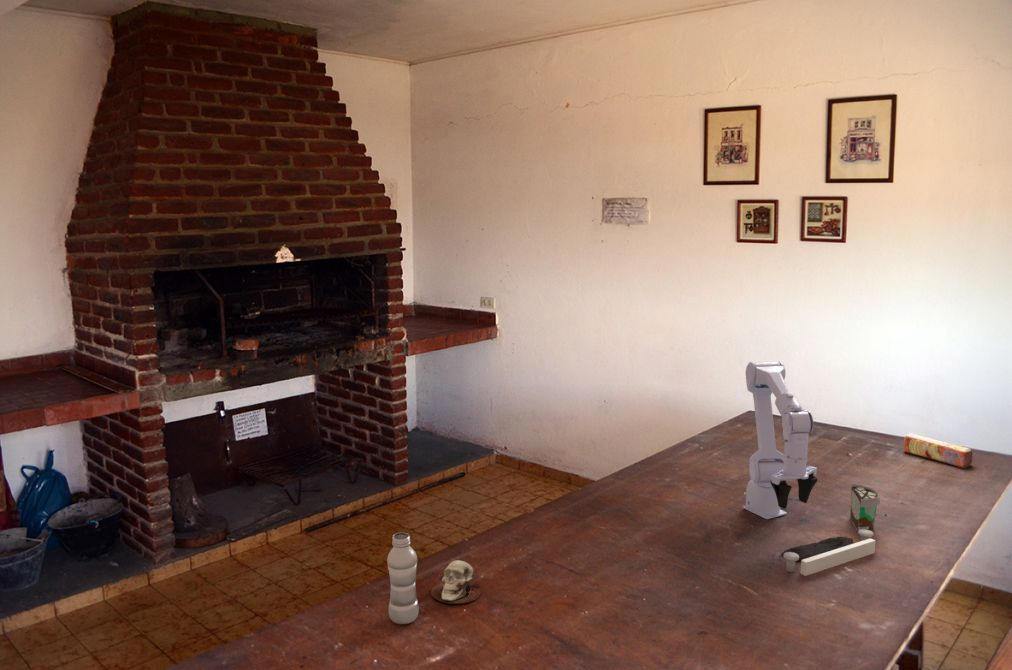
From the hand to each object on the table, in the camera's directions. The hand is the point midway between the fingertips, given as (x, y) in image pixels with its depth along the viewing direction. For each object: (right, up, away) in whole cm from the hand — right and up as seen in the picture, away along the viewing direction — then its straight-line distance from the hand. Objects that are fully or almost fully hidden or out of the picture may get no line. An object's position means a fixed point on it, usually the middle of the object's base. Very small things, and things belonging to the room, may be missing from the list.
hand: (792, 504), depth 210 cm
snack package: (+72, +2, +62) cm, 95 cm away
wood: (+5, -12, -6) cm, 14 cm away
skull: (-88, -16, -23) cm, 93 cm away
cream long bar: (+6, -12, -10) cm, 17 cm away
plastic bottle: (-99, -18, -35) cm, 107 cm away
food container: (+24, -8, +9) cm, 27 cm away
